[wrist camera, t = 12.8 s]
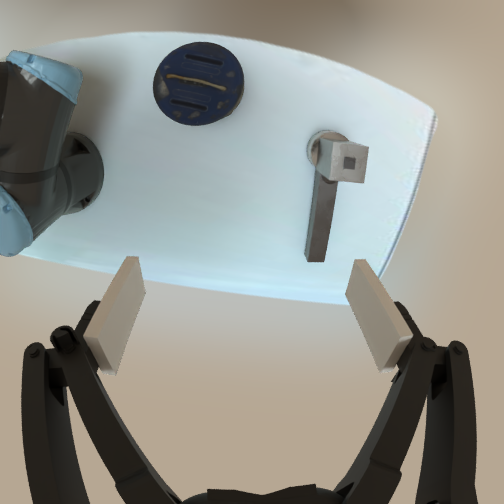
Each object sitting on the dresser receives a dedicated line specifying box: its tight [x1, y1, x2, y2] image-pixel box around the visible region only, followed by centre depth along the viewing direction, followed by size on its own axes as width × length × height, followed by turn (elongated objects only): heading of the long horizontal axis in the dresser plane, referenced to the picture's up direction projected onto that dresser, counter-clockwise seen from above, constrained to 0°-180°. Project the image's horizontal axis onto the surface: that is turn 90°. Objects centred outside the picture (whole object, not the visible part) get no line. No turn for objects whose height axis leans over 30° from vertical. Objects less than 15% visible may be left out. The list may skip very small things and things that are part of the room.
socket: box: [316, 137, 369, 183], centre depth 37 cm, size 5×5×7 cm
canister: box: [153, 42, 244, 126], centre depth 30 cm, size 10×10×18 cm
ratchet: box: [305, 130, 349, 262], centre depth 44 cm, size 7×24×7 cm, turn 178°
